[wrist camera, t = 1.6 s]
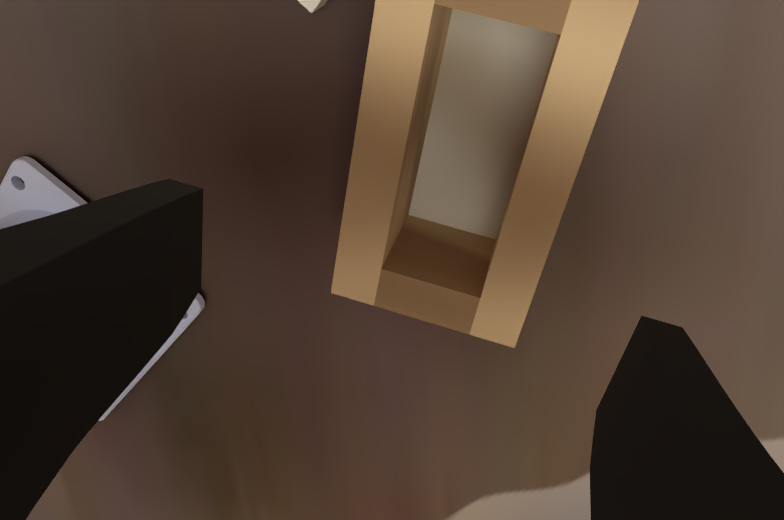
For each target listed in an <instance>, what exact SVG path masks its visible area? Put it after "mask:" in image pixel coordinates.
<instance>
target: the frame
mask: <svg viewBox="0 0 784 520" xmlns="http://www.w3.org/2000/svg"><path fill="white" fill-rule="evenodd" d="M638 2H639V0H376V1H375V7H374V14H373V20H372V27H371V33H370V40H369V47H368V53H367V60H366V66H365V73H364V79H363V86H362V92H361V99H360V105H359V112H358V118H357V125H356V131H355V138H354V144H353V151H352V158H351V164H350V171H349V177H348V184H347V190H346V197H345V203H344V210H343V216H342V223H341V229H340V236H339V242H338V249H337V255H336V262H335V269H334V275H333V282H332V288H331V293H333V294H336V295H340V296H343V297H346V298H350V299H353V300H356V301H360V302H363V303H366V304H370V305H373V306H376V307H380V308H383V309H386V310H390V311H393V312H396V313H400V314H403V315H406V316H410V317H413V318H416V319H419V320H423V321H426V322H429V323H433V324H436V325H439V326H443V327H446V328H449V329H453V330H456V331H459V332H463V333H466V334H469V335H473V336H476V337H479V338H483V339H486V340H489V341H493V342H496V343H499V344H503V345H506V346H509V347H513V348H515V345H516V343H517V340H518V337H519V334H520V331H521V329H522V326H523V323H524V320H525V317H526V315H527V312H528V309H529V306H530V304H531V301H532V298H533V295H534V292H535V290H536V287H537V284H538V281H539V278H540V276H541V273H542V270H543V267H544V264H545V262H546V259H547V256H548V253H549V251H550V248H551V245H552V242H553V239H554V237H555V234H556V231H557V228H558V225H559V223H560V220H561V217H562V214H563V211H564V209H565V206H566V203H567V200H568V198H569V195H570V192H571V189H572V186H573V184H574V181H575V178H576V175H577V172H578V170H579V167H580V164H581V161H582V158H583V156H584V153H585V150H586V147H587V145H588V142H589V139H590V136H591V133H592V131H593V128H594V125H595V122H596V119H597V117H598V114H599V111H600V108H601V106H602V103H603V100H604V97H605V94H606V92H607V89H608V86H609V83H610V80H611V78H612V75H613V72H614V69H615V66H616V64H617V61H618V58H619V55H620V53H621V50H622V47H623V44H624V41H625V39H626V36H627V33H628V30H629V27H630V25H631V22H632V19H633V16H634V13H635V11H636V8H637V5H638Z"/></svg>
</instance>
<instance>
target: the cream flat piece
mask: <svg viewBox="0 0 784 520" xmlns="http://www.w3.org/2000/svg"><path fill="white" fill-rule="evenodd" d="M298 1H299V2H300V3H301V4H302V5H303V6H304V7H305V8H306V9H307V10H308V11H309V12H310V13H313V12H315V11H316V10H318V9H319V8H321V7H322V6H324V5H325V4H326V2H327V1H328V0H298Z"/></svg>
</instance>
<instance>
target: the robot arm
mask: <svg viewBox="0 0 784 520" xmlns="http://www.w3.org/2000/svg"><path fill="white" fill-rule="evenodd" d="M20 178H21V179H22V180H23V181H24V183H23V182H22V181H21V180H20ZM202 216H203V189H201V188H198V187H194V186H191V185H187V184H184V183H180V182H177V181H174V180H170V179H168V180H163V181H159V182H155V183H151V184H147V185H144V186H140V187H137V188H134V189H131V190H127V191H124V192H121V193H118V194H115V195H112V196H109V197H106V198H102V199H99V200H96V201H93V202H90V203H87V202H86V201H85V200H83V199H82V198H81V197H80V196H79V195H77V194H76V193H75V192H74V191H72V190H71V189H70V188H69V187H67V186H66V185H65V184H64V183H62V182H61V181H60V180H59V179H58V178H56V177H55V176H54V175H53V174H51V173H50V172H49V171H48V170H46V169H45V168H44V167H43V166H41V165H40V164H39V163H38V162H37V161H35V160H34V159H32V158H30V157H27V156H23V157H20V158H18V159H16V160H14V161H13V162H12V164H11V166H10V167H9V169H8V171H7V173H6V175H5V177H4V179H3V181H2V183H1V185H0V520H26V518H27V517H28V515H29V514H30V512H31V511H32V509H33V508H34V506H35V505H36V503H37V502H38V500H39V499H40V497H41V496H42V494H43V493H44V492H45V490H46V489H47V487H48V486H49V484H50V483H51V482H52V480H53V479H54V477H55V476H56V474H57V473H58V471H59V470H60V469H61V467H62V466H63V464H64V463H65V461H66V460H67V459H68V457H69V456H70V454H71V453H72V452H73V451H74V449H75V448H76V447H77V445H78V444H79V443H80V442H81V440H82V439H83V438H84V437H85V435H86V434H87V433H88V432H89V430H90V429H91V428H92V427H93V426H94V425H95V424H96V422H97V421H102V420H104V419H105V417H106V416H107V415H108V414H109V413H110V412H111V411H112V410H113V409H114V407H115V406H116V405H117V404H118V403H119V402H120V401H121V400H122V399H123V398H124V396H125V395H126V394H127V393H128V392H129V391H130V390H131V389H132V388H133V386H134V385H135V384H136V383H137V382H138V381H139V380H140V379H141V378H142V377H143V375H144V374H145V373H146V372H147V371H148V370H149V369H150V368H151V367H152V365H153V364H154V363H155V362H156V361H157V360H158V359H159V358H160V357H161V355H162V354H163V353H164V352H165V351H166V350H167V349H168V348H169V347H170V346H171V344H172V343H173V342H174V341H175V340H176V339H177V338H178V337H179V336H180V334H181V333H182V332H183V331H184V330H185V329H186V328H187V327H188V326H189V325H190V323H191V322H192V321H193V320H194V319H195V318H196V317H197V316H198V315H199V313H200V312H201V311H202V310H203V308H204V306H205V301H204V299H203V297H202V296H201V295H200V294H199V291H200V289H201V263H202ZM186 312H187V313H186ZM590 494H591V520H784V473H783V472H782V470H781V469H780V468H779V467H778V465H777V464H776V463H775V462H774V460H773V459H772V458H771V456H770V455H769V454H768V452H767V451H766V449H765V448H764V447H763V445H762V444H761V443H760V441H759V440H758V439H757V437H756V436H755V434H754V433H753V432H752V430H751V429H750V427H749V426H748V425H747V423H746V422H745V420H744V419H743V417H742V416H741V415H740V413H739V412H738V410H737V409H736V407H735V406H734V404H733V403H732V401H731V400H730V398H729V397H728V395H727V394H726V392H725V391H724V389H723V388H722V386H721V385H720V383H719V382H718V380H717V379H716V377H715V376H714V374H713V373H712V371H711V370H710V368H709V367H708V365H707V364H706V362H705V360H704V359H703V357H702V356H701V354H700V353H699V351H698V350H697V348H696V347H695V345H694V344H693V342H692V341H691V339H690V338H689V336H688V335H687V333H686V332H685V331H684V329H683V328H682V327H679V326H675V325H672V324H668V323H665V322H661V321H658V320H655V319H651V318H648V317H644V316H641V318H640V320H639V322H638V324H637V327H636V329H635V331H634V333H633V335H632V337H631V339H630V341H629V343H628V345H627V347H626V350H625V352H624V354H623V356H622V358H621V360H620V362H619V364H618V366H617V368H616V371H615V373H614V375H613V377H612V379H611V381H610V383H609V385H608V387H607V389H606V391H605V394H604V396H603V398H602V400H601V402H600V404H599V406H598V408H597V410H596V419H595V427H594V435H593V443H592V453H591V463H590Z"/></svg>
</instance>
